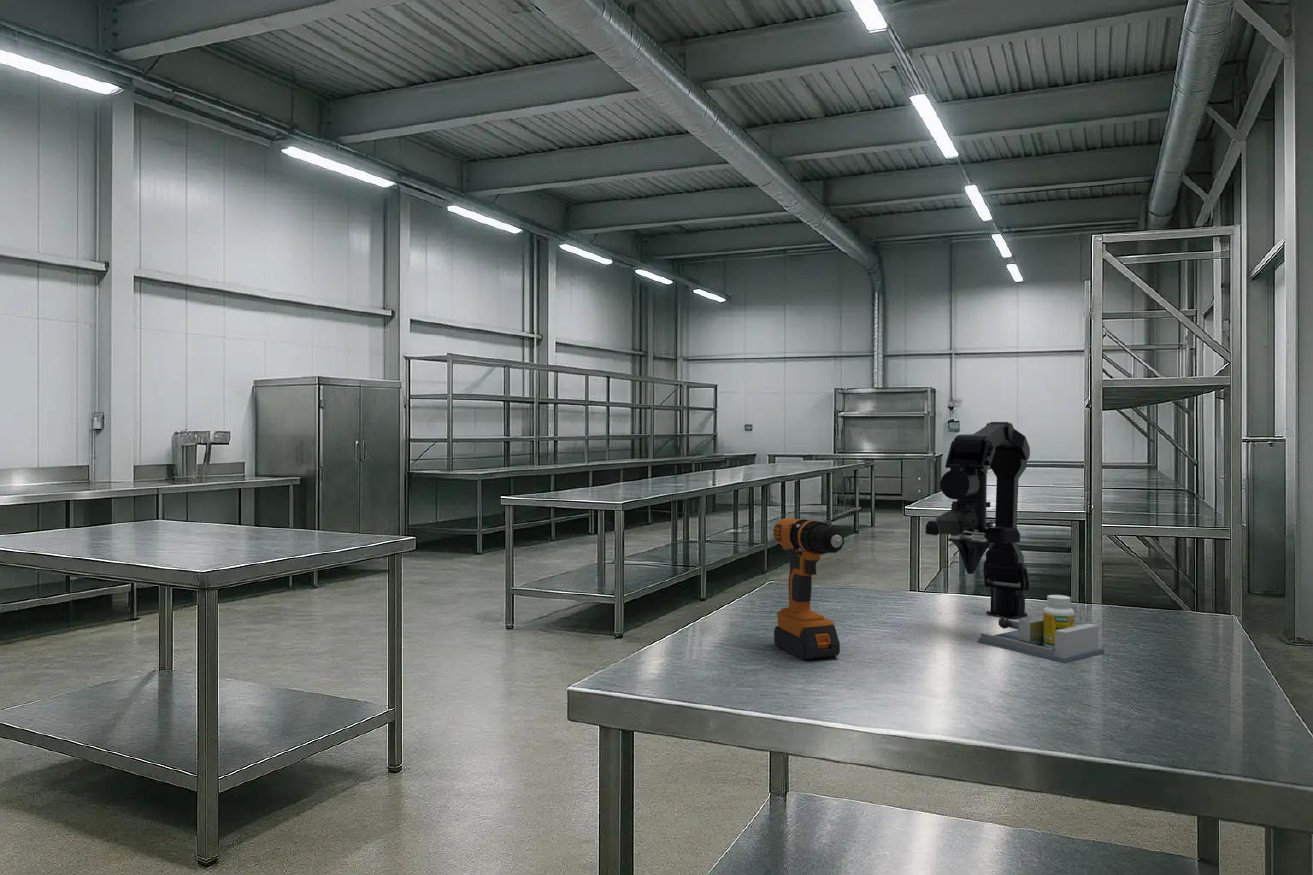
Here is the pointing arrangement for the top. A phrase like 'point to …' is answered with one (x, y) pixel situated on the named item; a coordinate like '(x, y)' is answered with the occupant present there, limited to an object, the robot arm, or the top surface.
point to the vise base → (1067, 643)
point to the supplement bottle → (1056, 618)
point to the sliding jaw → (1026, 629)
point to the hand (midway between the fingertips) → (970, 573)
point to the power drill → (805, 589)
